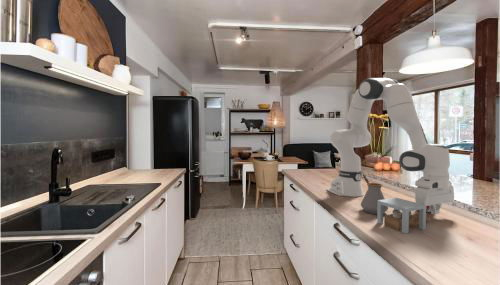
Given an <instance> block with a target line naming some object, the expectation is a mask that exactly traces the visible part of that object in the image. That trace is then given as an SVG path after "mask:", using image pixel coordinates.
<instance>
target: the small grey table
mask: <svg viewBox="0 0 500 285" xmlns="http://www.w3.org/2000/svg"><path fill="white" fill-rule="evenodd" d="M383 205H384V206H388V208H392V209H393V210H398V211H401V212H402V230H401V233H403V234H405V235H407V234H409V230H410V228H409V212H410V211H411V212H414V211H419V212H418V213H419V224H418V229H419V230H422V231H424V230H427V229H426V228H427V227H426V226H427V225H426V224H427V222H426V205H423V204H419V203H416V201H415V202H414V201H411V200H407V199H404V198H401V197H400V198H399V197H391V198H385V199H384V200H377V214H376V215H377V217H376V220H377V221H376V222H377V224H380V225H383V224H384V213H383Z"/></svg>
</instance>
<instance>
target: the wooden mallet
mask: <svg viewBox="0 0 500 285" xmlns="http://www.w3.org/2000/svg"><path fill="white" fill-rule="evenodd" d="M428 222H430V213H426V223H428ZM383 224H384V225H383V226H384V227H387V228H389V227H390V229H393V230H395V231H398V232H400V230H401V231H402V211H401V210H400V211H398V210H394V209H392V213H391V214H385V215H383ZM417 224H418V225H419V212H418V213H414V214H412V211H410V212H409V229H413V227H414V228H416V227H417Z"/></svg>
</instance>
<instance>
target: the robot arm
mask: <svg viewBox="0 0 500 285" xmlns="http://www.w3.org/2000/svg"><path fill="white" fill-rule="evenodd" d="M381 100H382V101H384V103H385V107H386V113H387V116H388V118H389V120H390V121H391V123H392V124H394V125H395V126H397V127H398V128H400V129H403V131H405V132H406V134H407V136H408V138H409V141H410V143H411V147H412V149H411V150H406V151H404V152H402V153H401V154H400V155H399V159H398V161H399V165H400V167H401V168H402V169H403V170H405V171H407V172H422V176H421V177H420V178H418V179H417V180H415V183H414V185H415V191H414V192H415V194H414V198H415V200H414V201H415V203H419V204H423V205H426V206H429V207H430V209H431V213H430V214H431V215H438V214H440V209H441V208H442V206H443V205H442V204H446V203H450V202H454V200H455V190H454V186H453V184H452V182H451V180H450V172H449V168H450V165H451V164H450V163H451V162H450V160H451V159H450V152H449V148H448V147H447V146H445V145H443V144H439V143H433V142H430V143H429V142H428V140H427V137H426V135H425V131H424V129H423V125H422V123H421V122H420V119H419V116H418V113H417V110H416V107H415V103H414V101H413V100H414V99H413V97H412V95H411V92H410V90H409V88H408V86H407V85H406V84H404V83H400V82H399V81H398V80H396V79H394V78H387V77H369V78H365V79H363V80H362V81H361V82H360V84H359V86H358V88H357V89H356V91H355V92H354V94H353V97H352V99H351V102H350V105H349V108H348V112H347V115H346V119H347V121H348V123H350V124H351V127H350V128H348V129H347V128H346V129H345V128H343V129H342V128H341V129H337V130H333V131H332V132H331V134H330V138H329V140H330V143H331V145H332V147H334V148H335V149H336V150H337V152H338V155H339V158H340V170H338V171H337V173H338V176H336V177H335V178H333V179H332V180H331V181H330V186H329V187H327V188H326V191H328V192H330V193H332V194H335V195H337V196H340V197H353V198H355V197H364V196H365V194H364V190H363V185H362V184H363V183H362V176H363V174H362V168H361V167H362V163H361V162H362V159H361V157H360V156H359V155H358V154H356V153H355V149H354V148H362V147H367V146H369V145H370V143H371V142H372V135H371V133H370V131H369V130H368V120H369V116H370V113H371V109H372V106H373V104H374V102H375V101H381Z"/></svg>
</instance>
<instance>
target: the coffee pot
mask: <svg viewBox="0 0 500 285" xmlns="http://www.w3.org/2000/svg"><path fill="white" fill-rule="evenodd" d="M362 176H363V177H361V179H362V178H363V179H364V181H365V182H366V185H367V190H366V192H365V194H364V195H363V198H362V200H361V203H360V206H361V208H362V209H363V210H364V211H365V212H366V213H368V214H372V215H377V200H384V199H386V198H385V197H384V194H383V192H382V190H381V189H382V187H383V184H382V183H375V182H370V180H368V178H367V176H366V174H362ZM388 210H389V207H388V206H384V205H383V214H385V212H387V211H388Z"/></svg>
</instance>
